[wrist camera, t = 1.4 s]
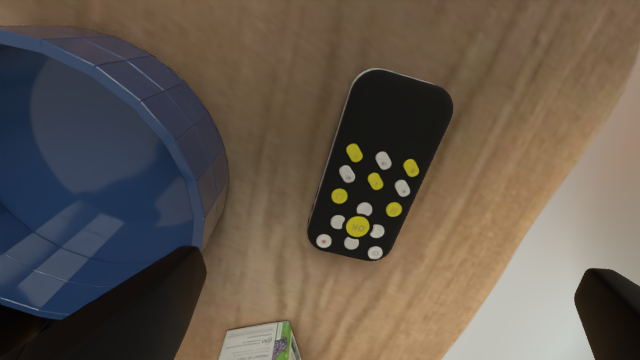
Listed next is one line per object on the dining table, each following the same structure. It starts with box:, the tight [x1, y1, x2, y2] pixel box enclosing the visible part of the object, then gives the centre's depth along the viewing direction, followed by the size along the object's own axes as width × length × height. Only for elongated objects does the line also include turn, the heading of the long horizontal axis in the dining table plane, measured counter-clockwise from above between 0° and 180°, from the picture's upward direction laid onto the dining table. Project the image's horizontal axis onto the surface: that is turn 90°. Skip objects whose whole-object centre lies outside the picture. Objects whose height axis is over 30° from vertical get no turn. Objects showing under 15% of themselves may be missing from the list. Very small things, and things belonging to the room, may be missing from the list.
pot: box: [0, 26, 229, 320], centre depth 19 cm, size 17×17×6 cm
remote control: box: [307, 68, 453, 261], centre depth 21 cm, size 6×13×2 cm, turn 164°
